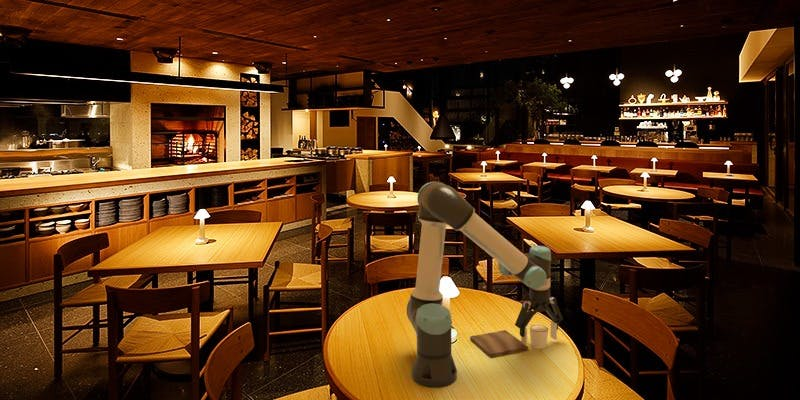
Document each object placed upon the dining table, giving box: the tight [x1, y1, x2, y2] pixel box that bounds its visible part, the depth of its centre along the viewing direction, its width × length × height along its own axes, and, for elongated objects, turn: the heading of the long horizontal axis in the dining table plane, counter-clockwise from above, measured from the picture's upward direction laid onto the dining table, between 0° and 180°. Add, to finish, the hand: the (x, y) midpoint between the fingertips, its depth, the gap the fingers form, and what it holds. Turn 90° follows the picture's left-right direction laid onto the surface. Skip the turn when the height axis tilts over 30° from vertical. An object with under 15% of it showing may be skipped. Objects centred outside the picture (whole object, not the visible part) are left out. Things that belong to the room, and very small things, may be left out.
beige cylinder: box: [529, 324, 549, 350], centre depth 178 cm, size 7×7×7 cm
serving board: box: [469, 329, 529, 359], centre depth 180 cm, size 16×16×2 cm
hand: (538, 341), depth 179 cm, fingers open, 13 cm apart
